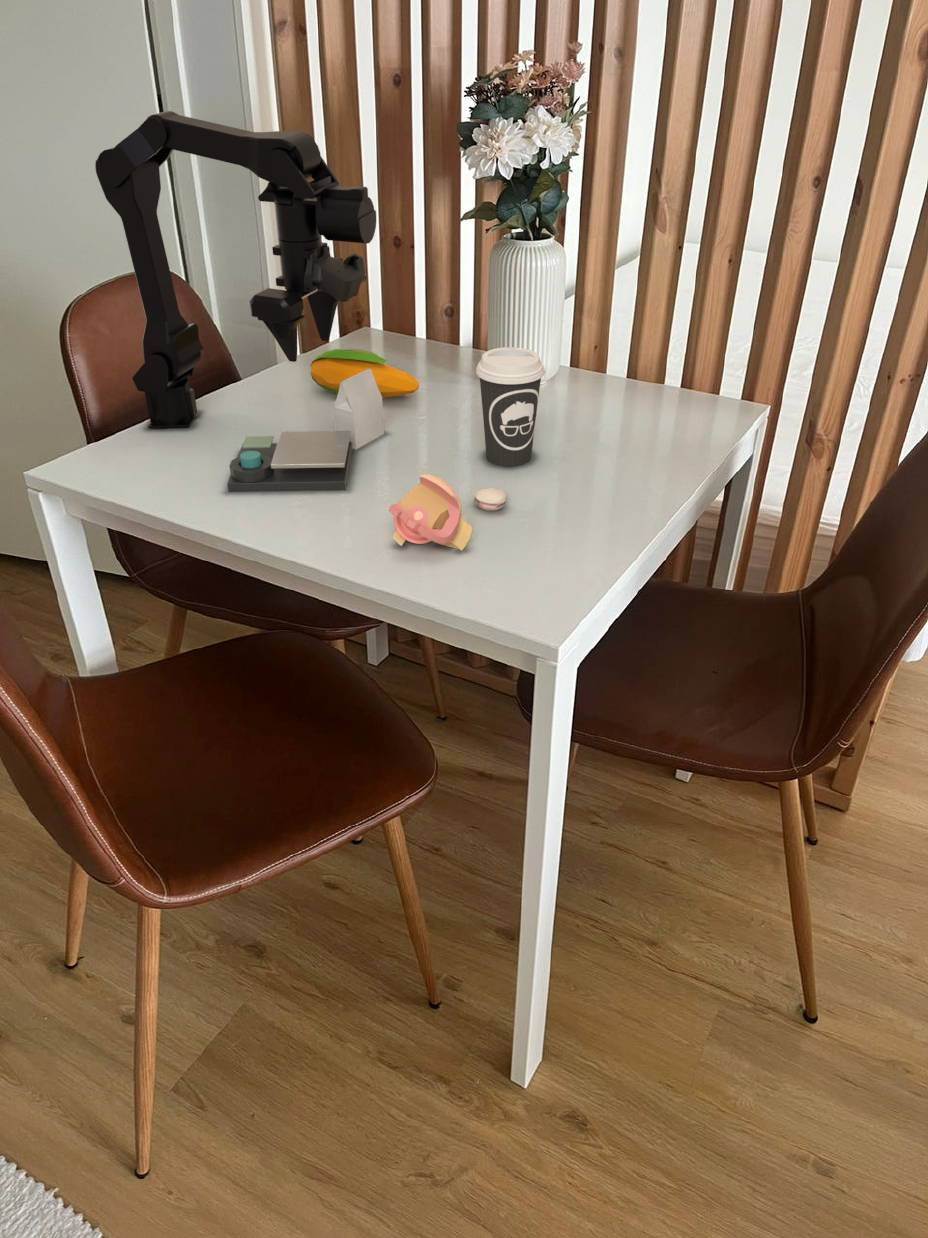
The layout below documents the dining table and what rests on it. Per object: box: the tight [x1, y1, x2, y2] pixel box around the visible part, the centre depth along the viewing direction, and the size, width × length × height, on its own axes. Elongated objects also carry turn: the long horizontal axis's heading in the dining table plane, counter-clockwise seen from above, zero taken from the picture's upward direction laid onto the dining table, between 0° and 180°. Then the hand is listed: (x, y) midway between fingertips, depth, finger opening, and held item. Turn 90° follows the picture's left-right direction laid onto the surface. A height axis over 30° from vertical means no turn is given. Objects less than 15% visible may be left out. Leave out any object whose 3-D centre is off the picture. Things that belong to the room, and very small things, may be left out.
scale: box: [226, 442, 353, 493], centre depth 142 cm, size 16×13×3 cm
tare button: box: [240, 451, 262, 468], centre depth 138 cm, size 3×3×2 cm
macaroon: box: [474, 487, 507, 512], centre depth 133 cm, size 4×5×2 cm
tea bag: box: [333, 368, 385, 450], centre depth 149 cm, size 4×7×10 cm, turn 146°
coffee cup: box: [475, 346, 546, 467], centre depth 142 cm, size 10×10×15 cm
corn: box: [309, 348, 420, 398], centre depth 164 cm, size 7×8×20 cm
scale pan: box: [271, 430, 350, 469], centre depth 141 cm, size 10×11×1 cm
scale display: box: [241, 435, 275, 448], centre depth 143 cm, size 4×4×1 cm
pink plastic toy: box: [388, 473, 474, 552], centre depth 124 cm, size 9×10×10 cm
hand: (309, 350), depth 143 cm, fingers open, 9 cm apart
